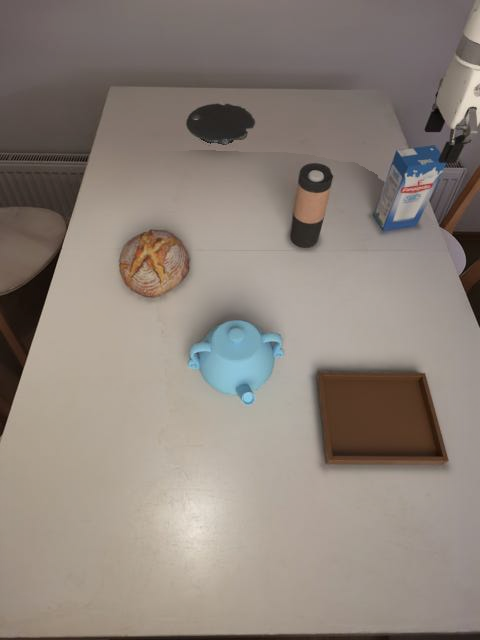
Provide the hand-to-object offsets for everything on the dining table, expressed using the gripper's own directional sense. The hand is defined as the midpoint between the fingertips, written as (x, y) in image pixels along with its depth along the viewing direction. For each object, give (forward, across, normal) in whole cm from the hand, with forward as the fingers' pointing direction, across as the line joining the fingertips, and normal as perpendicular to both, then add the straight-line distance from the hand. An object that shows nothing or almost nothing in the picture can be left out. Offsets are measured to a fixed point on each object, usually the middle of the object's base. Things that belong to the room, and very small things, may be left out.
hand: (439, 146), depth 82 cm
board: (+32, +53, +43) cm, 75 cm away
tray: (+31, -42, +12) cm, 54 cm away
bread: (+32, -3, +58) cm, 66 cm away
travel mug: (+32, +7, +21) cm, 38 cm away
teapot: (+32, -32, +39) cm, 60 cm away
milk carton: (+32, +14, -4) cm, 35 cm away
